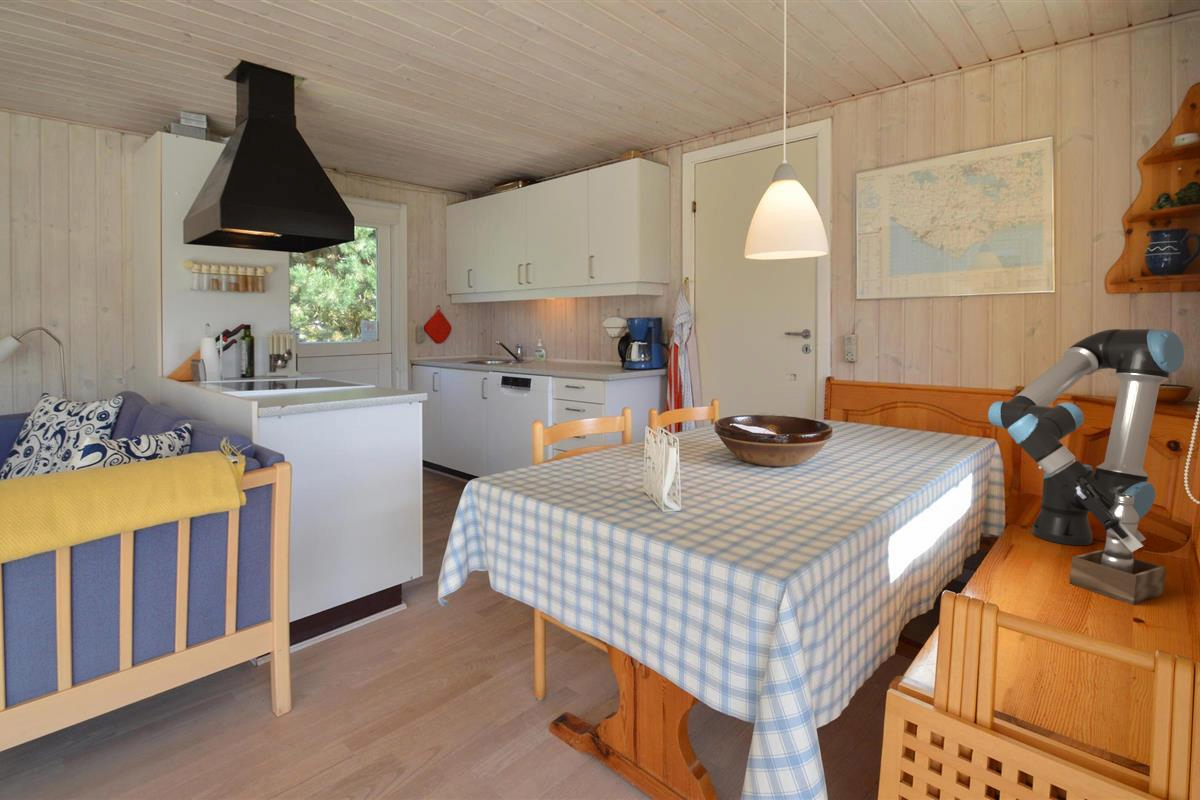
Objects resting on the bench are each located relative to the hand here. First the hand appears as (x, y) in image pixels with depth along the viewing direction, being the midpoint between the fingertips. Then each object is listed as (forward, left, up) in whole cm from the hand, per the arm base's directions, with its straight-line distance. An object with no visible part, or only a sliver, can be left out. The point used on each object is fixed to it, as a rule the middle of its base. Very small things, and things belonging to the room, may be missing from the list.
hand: (1138, 545), depth 155 cm
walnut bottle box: (+1, -3, -12) cm, 13 cm away
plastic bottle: (+1, -3, -9) cm, 9 cm away
